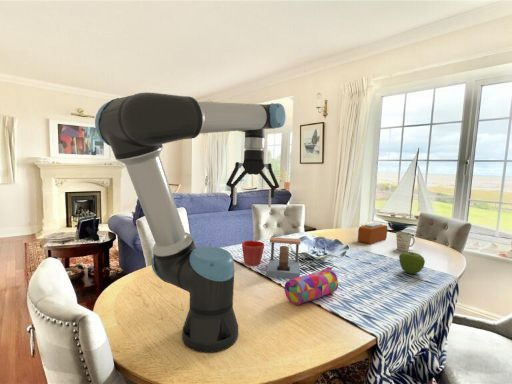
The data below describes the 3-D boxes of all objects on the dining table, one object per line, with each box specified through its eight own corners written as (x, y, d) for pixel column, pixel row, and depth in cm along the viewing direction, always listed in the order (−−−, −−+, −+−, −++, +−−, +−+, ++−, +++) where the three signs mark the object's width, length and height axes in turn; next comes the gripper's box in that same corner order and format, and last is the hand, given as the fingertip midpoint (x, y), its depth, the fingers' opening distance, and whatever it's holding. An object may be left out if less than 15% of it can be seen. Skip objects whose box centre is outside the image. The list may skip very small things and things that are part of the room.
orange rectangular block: (374, 237, 200) (376, 221, 199) (386, 239, 194) (387, 223, 193) (357, 242, 185) (358, 225, 184) (369, 244, 178) (370, 227, 177)
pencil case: (319, 285, 113) (320, 263, 112) (339, 293, 106) (341, 270, 105) (281, 300, 99) (282, 275, 98) (302, 311, 92) (303, 284, 91)
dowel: (287, 276, 121) (288, 248, 120) (278, 275, 122) (279, 248, 121) (287, 272, 125) (289, 246, 124) (278, 271, 126) (280, 245, 125)
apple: (417, 279, 123) (420, 257, 122) (393, 271, 131) (395, 250, 130) (427, 273, 130) (429, 252, 129) (403, 267, 138) (405, 247, 137)
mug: (391, 248, 172) (393, 232, 172) (408, 247, 176) (409, 231, 175) (402, 252, 165) (404, 235, 164) (419, 250, 168) (420, 234, 167)
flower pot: (267, 265, 133) (268, 245, 133) (245, 267, 129) (246, 247, 128) (258, 258, 143) (259, 239, 142) (238, 260, 139) (239, 241, 138)
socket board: (299, 279, 118) (301, 248, 117) (266, 276, 120) (267, 246, 119) (298, 266, 134) (300, 239, 133) (269, 263, 136) (270, 237, 135)
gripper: (287, 151, 109) (284, 206, 110) (224, 149, 112) (222, 202, 114) (286, 150, 101) (284, 208, 103) (219, 148, 104) (217, 204, 106)
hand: (251, 205), depth 108 cm, fingers open, 13 cm apart
